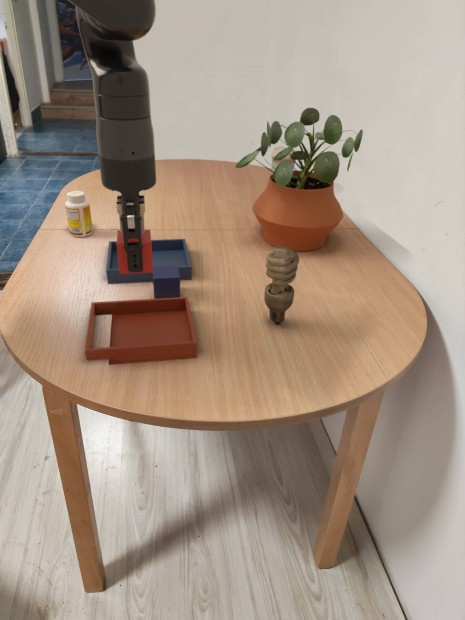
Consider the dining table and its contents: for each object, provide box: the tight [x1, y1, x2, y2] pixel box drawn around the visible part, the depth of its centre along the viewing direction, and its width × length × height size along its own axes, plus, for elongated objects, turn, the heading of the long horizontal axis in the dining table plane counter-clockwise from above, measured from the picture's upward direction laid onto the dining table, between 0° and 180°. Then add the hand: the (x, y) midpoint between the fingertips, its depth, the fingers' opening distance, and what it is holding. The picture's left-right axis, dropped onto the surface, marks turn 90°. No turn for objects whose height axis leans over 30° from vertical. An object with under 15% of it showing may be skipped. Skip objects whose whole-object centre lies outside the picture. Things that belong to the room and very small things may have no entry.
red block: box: [116, 229, 153, 274], centre depth 70 cm, size 5×5×5 cm
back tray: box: [105, 238, 193, 285], centre depth 99 cm, size 17×14×3 cm
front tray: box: [84, 296, 198, 365], centre depth 77 cm, size 17×14×3 cm
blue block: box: [152, 265, 181, 299], centre depth 89 cm, size 5×5×5 cm
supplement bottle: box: [64, 190, 94, 238], centre depth 110 cm, size 6×6×10 cm
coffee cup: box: [270, 146, 297, 175], centre depth 148 cm, size 8×8×12 cm
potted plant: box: [235, 107, 364, 252], centre depth 107 cm, size 23×28×30 cm
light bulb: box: [263, 246, 300, 325], centre depth 79 cm, size 6×6×15 cm
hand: (135, 262), depth 71 cm, fingers closed on red block, 5 cm apart
